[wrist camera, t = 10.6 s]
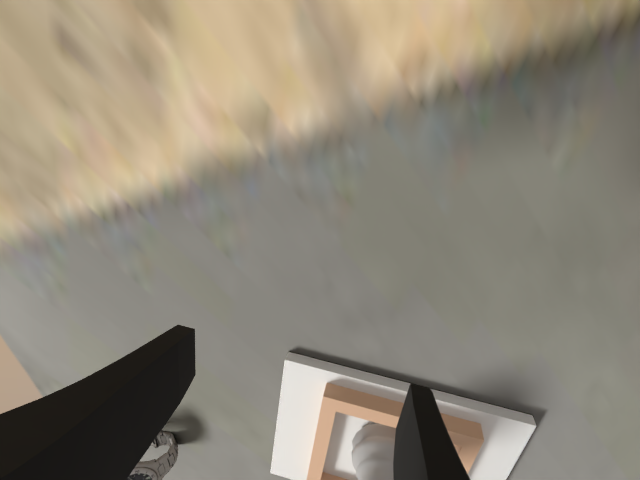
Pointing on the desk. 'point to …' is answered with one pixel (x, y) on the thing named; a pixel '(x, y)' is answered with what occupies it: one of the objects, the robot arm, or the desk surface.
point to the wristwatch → (151, 472)
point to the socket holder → (384, 408)
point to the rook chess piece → (374, 452)
